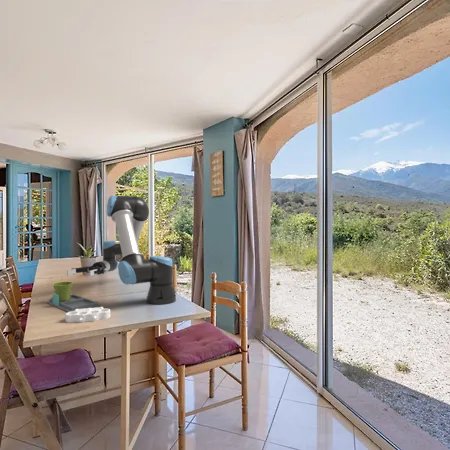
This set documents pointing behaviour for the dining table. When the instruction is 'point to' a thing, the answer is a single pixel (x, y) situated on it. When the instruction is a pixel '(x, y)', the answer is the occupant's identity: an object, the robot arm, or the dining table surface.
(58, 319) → the dining table surface
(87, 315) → the knuckle duster
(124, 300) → the dining table surface
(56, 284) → the plant pot
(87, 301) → the tray
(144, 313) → the dining table surface
